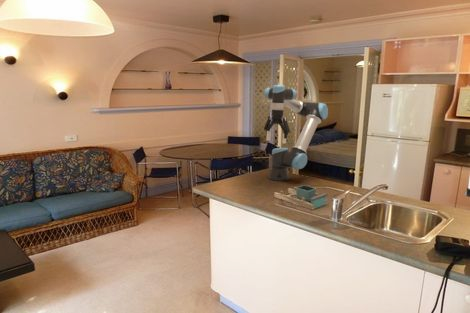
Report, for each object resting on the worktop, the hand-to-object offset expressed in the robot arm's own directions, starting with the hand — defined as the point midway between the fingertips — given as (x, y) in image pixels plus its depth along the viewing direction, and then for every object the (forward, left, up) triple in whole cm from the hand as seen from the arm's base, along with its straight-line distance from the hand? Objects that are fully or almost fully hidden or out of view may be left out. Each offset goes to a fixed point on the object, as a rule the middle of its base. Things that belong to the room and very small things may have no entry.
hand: (275, 141), depth 221 cm
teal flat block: (+7, +40, -32) cm, 52 cm away
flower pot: (+7, +31, -32) cm, 45 cm away
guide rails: (+7, +27, -32) cm, 42 cm away
